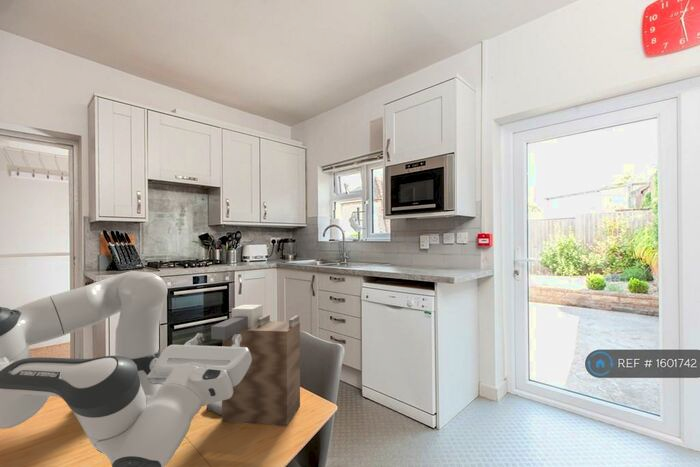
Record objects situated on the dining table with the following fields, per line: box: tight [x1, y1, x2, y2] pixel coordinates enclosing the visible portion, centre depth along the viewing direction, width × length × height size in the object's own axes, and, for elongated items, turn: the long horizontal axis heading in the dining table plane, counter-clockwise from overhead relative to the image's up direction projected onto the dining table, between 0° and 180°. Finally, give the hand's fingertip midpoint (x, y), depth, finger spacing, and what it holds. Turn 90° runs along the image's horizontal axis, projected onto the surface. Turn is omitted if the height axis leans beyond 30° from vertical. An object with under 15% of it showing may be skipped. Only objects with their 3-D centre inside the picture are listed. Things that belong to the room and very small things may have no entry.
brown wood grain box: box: [221, 314, 301, 427], centre depth 92 cm, size 18×11×26 cm, turn 81°
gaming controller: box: [205, 401, 222, 416], centre depth 96 cm, size 11×6×7 cm
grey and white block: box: [210, 304, 264, 340], centre depth 88 cm, size 6×19×5 cm, turn 171°
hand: (220, 335), depth 79 cm, fingers open, 8 cm apart
